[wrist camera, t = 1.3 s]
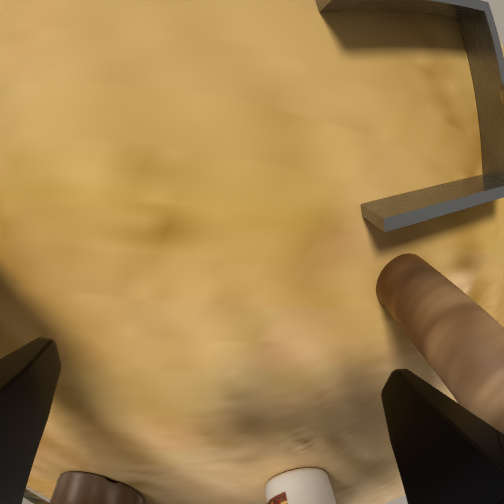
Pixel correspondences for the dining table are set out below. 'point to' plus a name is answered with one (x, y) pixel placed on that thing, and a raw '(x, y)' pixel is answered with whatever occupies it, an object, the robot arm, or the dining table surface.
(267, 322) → the dining table surface
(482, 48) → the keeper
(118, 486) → the plant pot
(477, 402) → the peg
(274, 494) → the milk bottle
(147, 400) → the dining table surface
